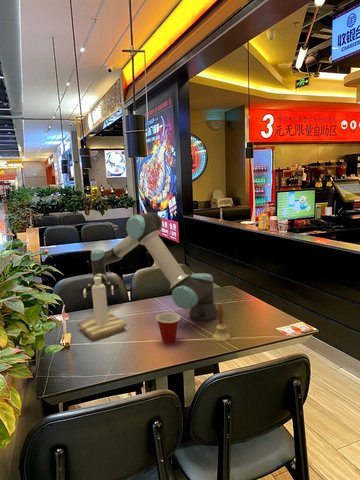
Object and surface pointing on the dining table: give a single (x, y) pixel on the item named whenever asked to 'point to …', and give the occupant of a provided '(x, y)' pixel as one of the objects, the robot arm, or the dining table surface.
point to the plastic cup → (168, 326)
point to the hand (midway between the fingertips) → (98, 293)
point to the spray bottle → (100, 302)
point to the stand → (102, 327)
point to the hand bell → (221, 327)
